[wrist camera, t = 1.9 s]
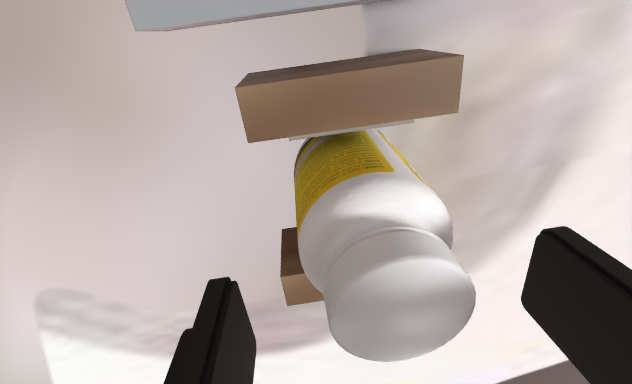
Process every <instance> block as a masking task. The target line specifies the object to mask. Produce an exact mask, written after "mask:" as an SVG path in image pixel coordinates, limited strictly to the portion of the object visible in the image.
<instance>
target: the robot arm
mask: <svg viewBox="0 0 632 384" xmlns="http://www.w3.org/2000/svg"><path fill="white" fill-rule="evenodd" d="M521 302H522V305H523V307H524V308H525V310H526V311H527V312H528V313H529V314H530V315H531V316H532V318H533V319H534V320H535V321H536V322H537V323H538V324H539V326H540V327H541V328H542V329H543V330H544V331H545V332H546V334H547V335H548V336H549V337H550V338H551V339H552V340H553V342H554V343H555V344H556V345H557V346H558V347H559V348H560V350H561V351H562V352H563V353H564V354H565V355H566V356H567V358H568V359H569V360H570V361H571V362H572V363H573V364H574V365H575V367H576V368H577V369H578V370H579V371H580V372H581V374H582V375H583V376H584V377H585V378H586V379H587V380H588V381H589V383H590V384H632V270H631V269H630V268H628V267H627V266H625V265H624V264H622V263H621V262H619V261H618V260H616V259H615V258H613V257H612V256H610V255H609V254H607V253H606V252H604V251H603V250H601V249H600V248H598V247H597V246H595V245H594V244H593V243H591V242H590V241H588V240H587V239H585V238H584V237H582V236H581V235H579V234H578V233H576V232H575V231H573V230H572V229H570V228H568V227H565V226H561V227H555V228H548V229H544V230H542V231H541V233H540V235H538V236H537V237H536V240H535V244H534V248H533V252H532V256H531V260H530V264H529V268H528V272H527V276H526V280H525V284H524V288H523V292H522V296H521ZM255 358H256V339H255V336H254V333H253V330H252V327H251V323H250V320H249V317H248V314H247V311H246V308H245V305H244V302H243V299H242V296H241V293H240V290H239V286H238V283H237V282H236V281H231V279H230V278H229V277H224V278H218V279H211V280H209V282H208V284H207V286H206V289H205V292H204V295H203V298H202V301H201V305H200V307H199V310H198V313H197V316H196V319H195V322H194V325H193V328H190V329H186V330H185V331H184V332H183V333H182V336H181V338H180V340H179V343H178V346H177V348H176V351H175V354H174V357H173V359H172V362H171V365H170V368H169V370H168V373H167V376H166V379H165V381H164V384H253V377H254V367H255Z"/></svg>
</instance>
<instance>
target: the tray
mask: <svg viewBox="0 0 632 384" xmlns="http://www.w3.org/2000/svg"><path fill="white" fill-rule="evenodd" d="M380 1H387V0H125V2H126V5H127V8H128V11H129V14H130V16H131V19H132V22H133V25H134V27H135V30H136V31H171V30H178V29H185V28H193V27H200V26H207V25H214V24H222V23H229V22H236V21H243V20H250V19H257V18H265V17H272V16H279V15H286V14H293V13H301V12H308V11H315V10H322V9H329V8H336V7H344V6H351V5H358V4H365V3H373V2H380Z"/></svg>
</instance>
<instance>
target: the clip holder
mask: <svg viewBox="0 0 632 384" xmlns="http://www.w3.org/2000/svg"><path fill="white" fill-rule="evenodd" d="M463 59H464V55H459V54H451V53H444V52H437V51H430V50H422V49H417V50H410V51H403V52H396V53H389V54H382V55H375V56H368V57H361V58H354V59H347V60H339V61H332V62H325V63H319V64H312V65H304V66H297V67H290V68H283V69H276V70H269V71H262V72H255V73H249V74H247V75H246V76H245V78H244V79H243V80H242V81H241V82H240V83H239V84H238V85H237V86H236V87H235V90H236V94H237V99H238V102H239V107H240V111H241V115H242V119H243V123H244V128H245V132H246V136H247V140H248V143H252V142H259V141H265V140H273V139H280V138H286V137H289V141H290V140H296V139H304V138H311V137H318V136H325V135H332V134H339V133H346V132H352V131H359V130H366V129H373V128H380V127H387V126H394V125H401V124H408V123H414V119H418V118H425V117H432V116H438V115H445V114H452V113H458V109H459V99H460V89H461V79H462V69H463ZM281 244H282V245H281V281H282V286H283V290H284V294H285V298H286V302H287V306H290V305H297V304H304V303H310V302H317V301H323V300H324V296H323V294H322V293H321V292H320V291H319V290H317V289H316V288H315V287H314V285H313V284H312V283H311V282H310V280H309V279H308V277H307V276H306V274H305V272H304V270H303V267H302V264H301V261H300V256H299V250H298V238H297V227H294V228H287V229H282V243H281Z"/></svg>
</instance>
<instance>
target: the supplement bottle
mask: <svg viewBox="0 0 632 384" xmlns="http://www.w3.org/2000/svg"><path fill="white" fill-rule="evenodd" d="M294 182H295V200H296V220H297V238H298V250H299V256H300V261H301V264H302V267H303V270H304V272H305V274H306V276H307V277H308V279H309V280H310V282H311V283H312V284H313V285H314V287H315V288H316V289H317V290H319V291H320V292H321V293H322V294H323V296H324V301H325V305H326V311H327V317H328V324H329V328H330V331H331V334H332V336H333V338H334V339H335V340H336V342H337V343H338V344H339V346H341V347H342V348H343V349H344V350H345V351H347V352H349V353H350V354H352V355H355V356H357V357H360V358H363V359H367V360H372V361H382V362H388V361H401V360H407V359H411V358H415V357H419V356H421V355H424V354H427V353H429V352H432V351H434V350H436V349H437V348H439V347H441V346H443V345H444V344H446V343H447V342H449V341H450V340H451V339H453V338H454V337H455V336H456V335H457V334H458V333H459V332H460V331H461V330H462V329H463V328H464V326H465V325H466V324H467V322H468V321H469V319H470V317H471V315H472V313H473V310H474V307H475V299H476V293H475V288H474V285H473V283H472V280H471V278H470V277H469V275H468V273H467V272H466V271H465V269H464V268H463V267H462V265H461V264H460V262H459V261H458V259H457V258H456V257H455V255H454V254H453V252H452V251H451V247H452V241H453V229H452V222H451V219H450V216H449V213H448V211H447V209H446V207H445V205H444V204H443V203H442V201H441V200H440V199H439V197H438V196H437V195H436V193H435V192H434V191H433V190H432V189H431V188H430V187H429V186H428V184H427V183H426V182H425V181H424V180H423V179H422V178H421V177H420V176H419V174H418V173H417V172H416V171H415V170H414V169H413V167H412V166H411V165H410V164H409V163H408V162H407V161H406V159H405V158H403V156H402V155H401V154H400V153H399V152H398V150H397V149H396V148H395V147H394V146H393V145H392V144H391V143H390V141H389V140H388V139H387V138H386V137H385V136H384V135H383V134H382V133H381V132H380V131H378V130H377V129H376V128H373V129H366V130H359V131H352V132H346V133H339V134H332V135H325V136H318V137H311V138H307V139H306V141H305V142H304V143H303V145H302V146H301V148H300V150H299V153H298V155H297V158H296V162H295V170H294Z"/></svg>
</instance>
